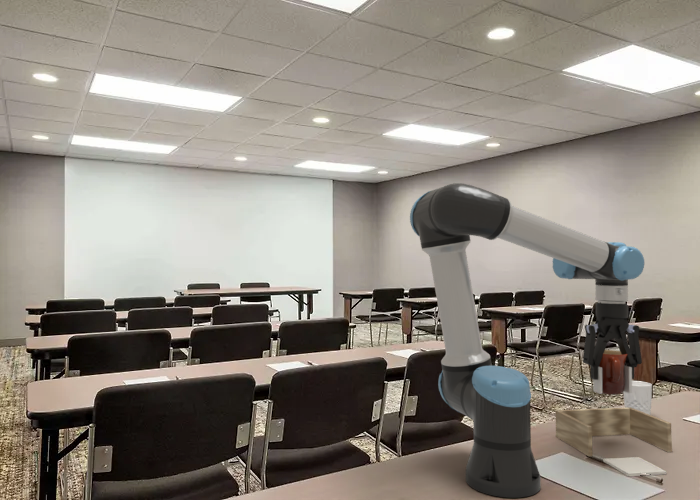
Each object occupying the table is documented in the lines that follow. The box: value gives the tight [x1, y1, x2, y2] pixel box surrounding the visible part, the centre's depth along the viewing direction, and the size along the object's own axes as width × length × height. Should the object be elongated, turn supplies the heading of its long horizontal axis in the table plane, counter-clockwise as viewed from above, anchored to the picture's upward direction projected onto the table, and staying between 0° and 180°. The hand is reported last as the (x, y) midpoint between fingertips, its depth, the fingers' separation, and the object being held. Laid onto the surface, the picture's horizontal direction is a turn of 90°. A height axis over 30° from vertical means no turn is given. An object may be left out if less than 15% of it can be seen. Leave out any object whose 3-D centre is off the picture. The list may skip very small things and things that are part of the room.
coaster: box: [602, 456, 668, 477], centre depth 118 cm, size 9×9×1 cm
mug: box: [599, 349, 628, 396], centre depth 133 cm, size 12×9×10 cm
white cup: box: [622, 380, 653, 415], centre depth 159 cm, size 8×8×10 cm
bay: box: [555, 407, 673, 457], centre depth 134 cm, size 22×15×7 cm
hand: (612, 392), depth 133 cm, fingers closed on mug, 7 cm apart
